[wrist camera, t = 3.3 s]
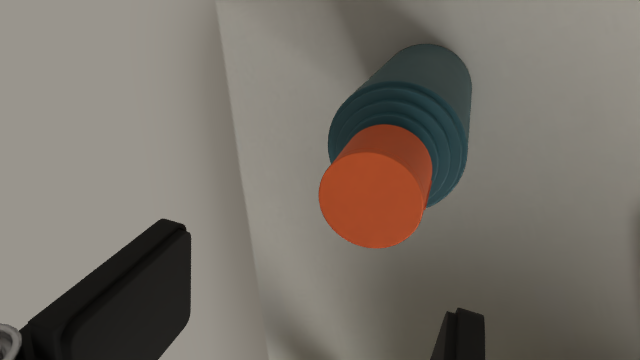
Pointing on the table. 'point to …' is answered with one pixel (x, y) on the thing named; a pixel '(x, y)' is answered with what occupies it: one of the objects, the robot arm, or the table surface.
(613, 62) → the table surface
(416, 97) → the bottle
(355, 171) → the cap
